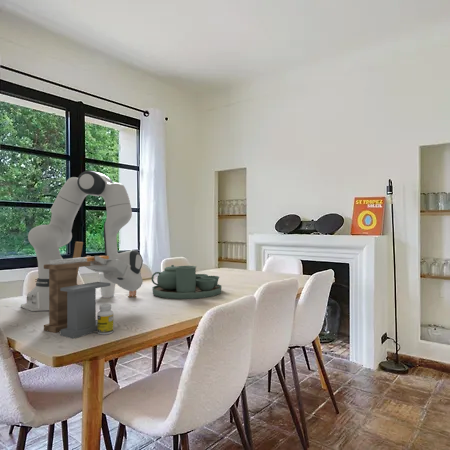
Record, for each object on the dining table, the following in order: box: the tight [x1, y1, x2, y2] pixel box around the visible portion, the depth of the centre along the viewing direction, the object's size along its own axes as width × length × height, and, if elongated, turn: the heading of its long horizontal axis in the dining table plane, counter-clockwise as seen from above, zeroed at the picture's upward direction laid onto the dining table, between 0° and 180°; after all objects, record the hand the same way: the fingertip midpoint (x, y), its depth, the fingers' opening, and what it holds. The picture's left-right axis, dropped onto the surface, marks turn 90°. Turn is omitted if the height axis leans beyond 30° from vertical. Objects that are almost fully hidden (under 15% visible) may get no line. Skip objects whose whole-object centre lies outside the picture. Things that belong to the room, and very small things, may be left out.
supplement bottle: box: [96, 303, 114, 336], centre depth 127 cm, size 5×5×10 cm
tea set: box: [151, 264, 222, 300], centre depth 206 cm, size 40×40×16 cm
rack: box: [59, 281, 110, 339], centre depth 129 cm, size 7×16×16 cm, turn 150°
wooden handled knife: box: [50, 254, 109, 265], centre depth 141 cm, size 3×25×2 cm, turn 150°
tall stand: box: [43, 262, 91, 334], centre depth 135 cm, size 7×15×24 cm, turn 150°
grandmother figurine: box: [127, 290, 137, 298], centre depth 194 cm, size 8×4×13 cm, turn 101°
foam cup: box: [98, 272, 116, 299], centre depth 195 cm, size 10×9×13 cm
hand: (91, 257), depth 145 cm, fingers closed on wooden handled knife, 3 cm apart
